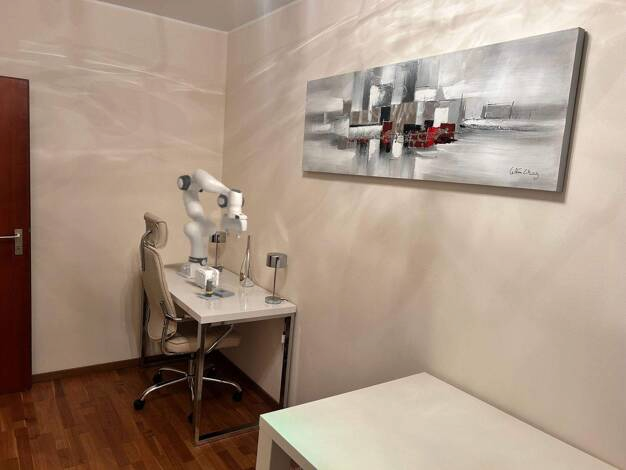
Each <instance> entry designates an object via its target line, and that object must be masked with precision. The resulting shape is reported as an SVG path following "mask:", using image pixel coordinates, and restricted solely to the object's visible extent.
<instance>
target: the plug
mask: <svg viewBox="0 0 626 470" xmlns="http://www.w3.org/2000/svg"><path fill="white" fill-rule="evenodd" d="M212 284H213V281H212V279H207V281H206V288H205V290H204V294H206V295H205V296H206V297H212V293H213V291H212V289H213V286H212Z"/></svg>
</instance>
